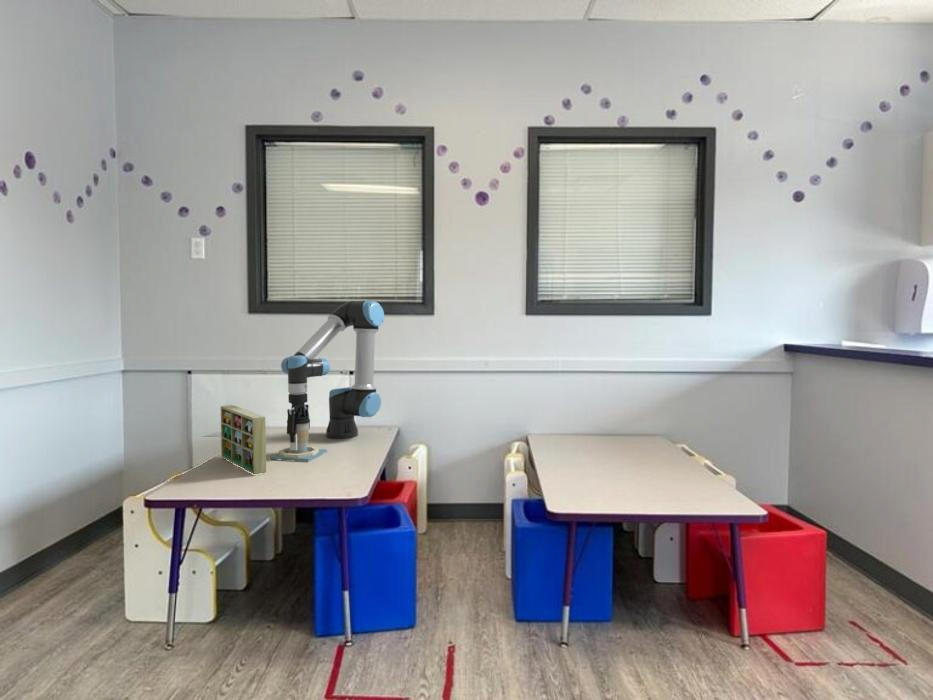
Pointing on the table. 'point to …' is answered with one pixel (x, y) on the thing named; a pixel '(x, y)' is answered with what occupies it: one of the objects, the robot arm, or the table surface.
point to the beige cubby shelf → (243, 438)
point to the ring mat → (310, 455)
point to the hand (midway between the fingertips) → (299, 447)
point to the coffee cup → (302, 434)
